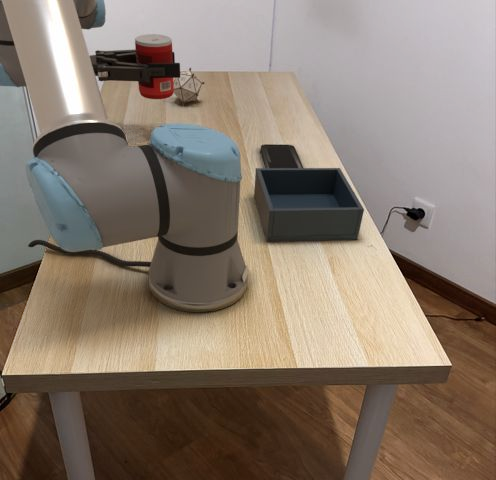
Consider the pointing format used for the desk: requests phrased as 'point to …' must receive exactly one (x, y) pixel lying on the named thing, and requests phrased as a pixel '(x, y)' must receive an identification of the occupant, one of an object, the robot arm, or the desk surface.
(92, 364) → the desk surface
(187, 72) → the game die
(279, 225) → the bin
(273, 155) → the phone
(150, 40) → the canned food
